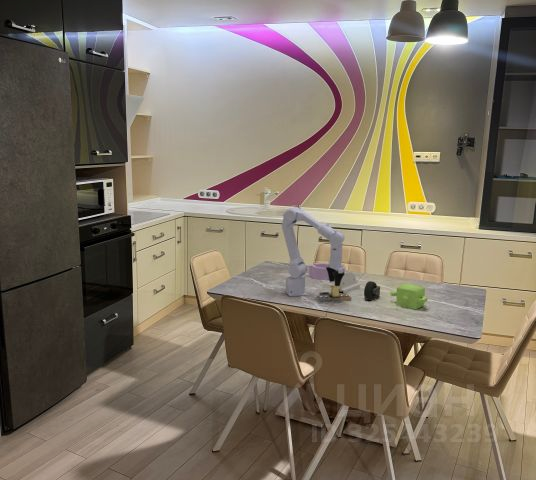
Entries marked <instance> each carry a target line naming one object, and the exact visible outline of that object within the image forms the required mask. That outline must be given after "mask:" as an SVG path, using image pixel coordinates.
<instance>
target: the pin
mask: <svg viewBox="0 0 536 480" xmlns="http://www.w3.org/2000/svg"><path fill="white" fill-rule="evenodd" d="M329 288H330V294H331V297H330V298H338V296H339V294H340V291H339V289H340V287H339V286H335V284H332V285H329Z"/></svg>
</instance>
